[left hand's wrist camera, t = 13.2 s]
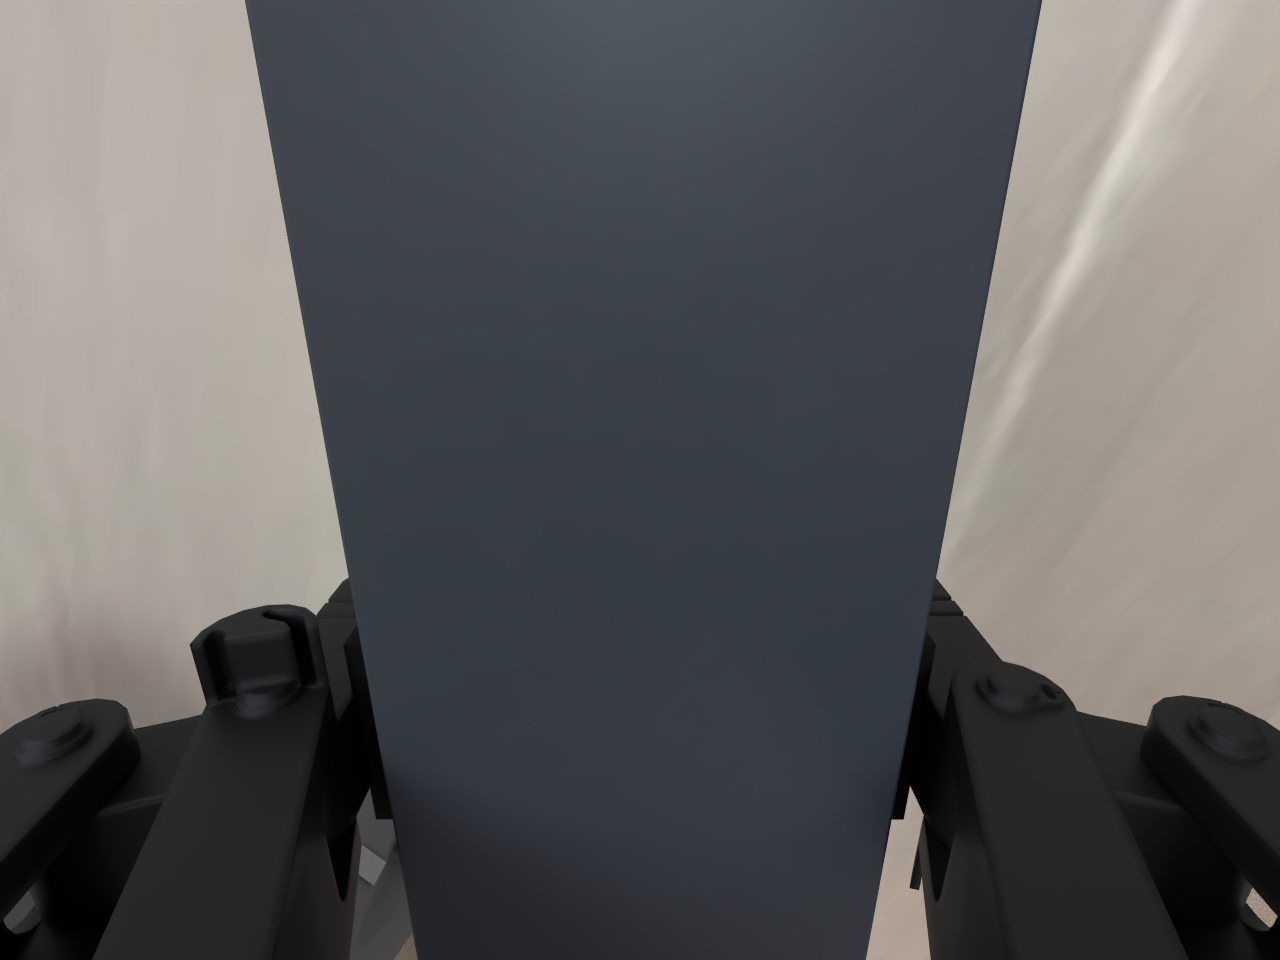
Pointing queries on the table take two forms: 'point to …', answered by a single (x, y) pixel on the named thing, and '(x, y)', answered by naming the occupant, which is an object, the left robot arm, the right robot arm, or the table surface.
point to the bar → (642, 435)
